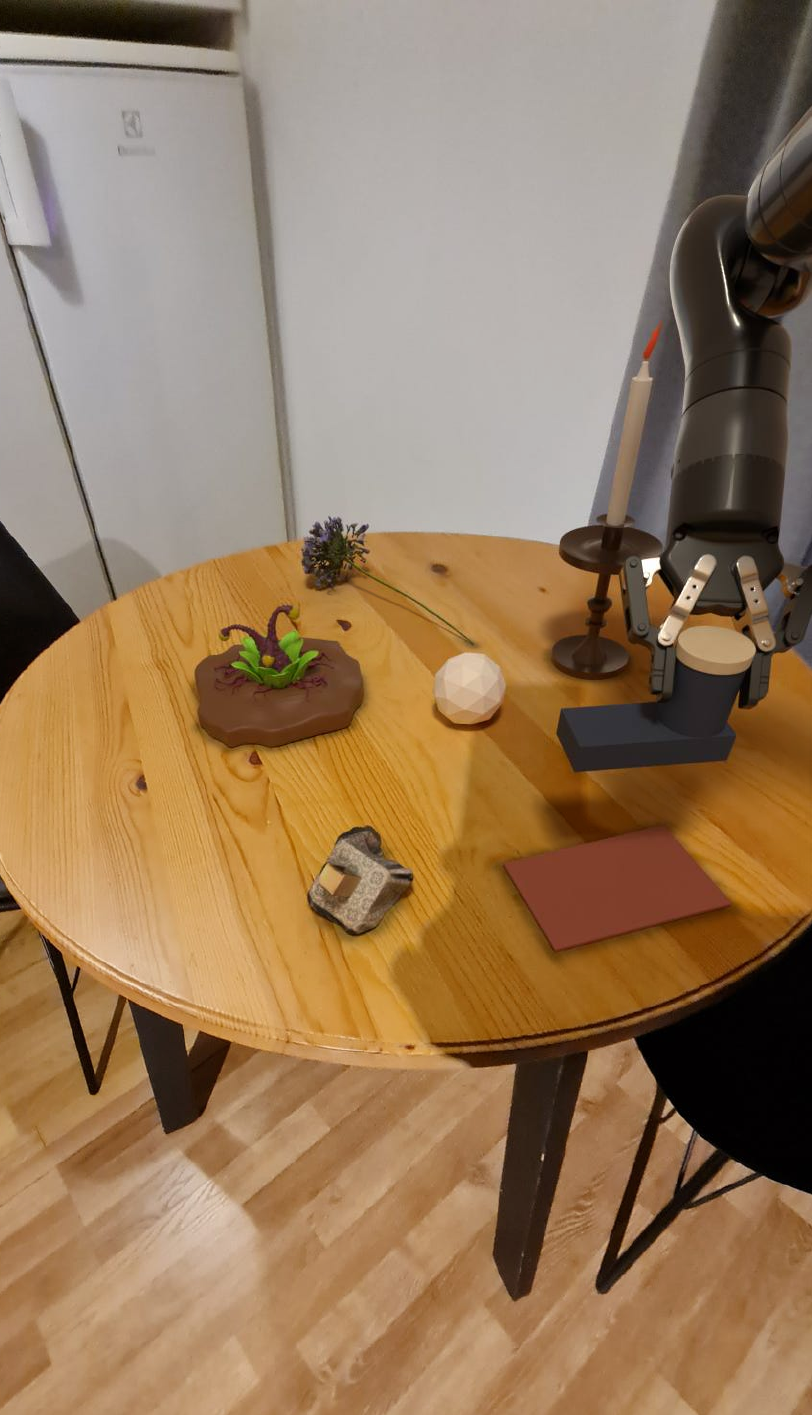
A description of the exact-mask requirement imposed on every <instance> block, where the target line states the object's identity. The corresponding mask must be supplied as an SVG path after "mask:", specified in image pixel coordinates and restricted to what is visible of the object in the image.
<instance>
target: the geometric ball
mask: <svg viewBox="0 0 812 1415" xmlns="http://www.w3.org/2000/svg"><path fill="white" fill-rule="evenodd" d="M506 689H507V685H506V681H505V678H504V675H503V672H502V670H501V667H500V665H498V664H497V663H496V662H495V661H493V660H492V659H491V658H490V657H488V656H487V655H486V654H484V653H476V652H466V651H465V652H463V653H460V654H458V655H455V656H452V657H450V658H447V660H446V661H445V663H444V664H443V665H442V666H441V667H440V668H439V669H438V670H437V672H436V673H435V674H434V679H433V688H432V694H433V697H434V701H435V703H436V706H437V709H438V711H439V712H440V713H441V714H442V715H443V716H444V717H446V718H447V719H448V720H450V721H451V722H452V723H453V724H459V725H461V724H462V725H474V724H475V725H476V724H479V723H482V722H484V721H489V720H491V718H492V717H493V716H494V714H495V713H496V712H497V710H498V709H500V707H501V706H502V704H503V703H504V698H505V693H506Z"/></svg>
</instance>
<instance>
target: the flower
mask: <svg viewBox="0 0 812 1415" xmlns="http://www.w3.org/2000/svg"><path fill="white" fill-rule="evenodd" d="M327 516H328V520H327V519H325V520H324V521H323V525H324V528H323V527H322V525H321V523H320V522H319V521H316V522H315V523H314V524H312V525H311V526H312V528H310V529H309V530H308V533H309V535H311V536H308V535H307V536H303V543H304V546H301V547H300V550H301V554H302V558H301V559H300V561H301V566H302V567H303V568H302V570H303V572H304V575H311V576H313V575H314V577H315V578H317V579H316V581H315V582H314V583H313V584H314V586H318V587H319V588H320V589H321V588H322V583H323V582H324V581H325V582H326V587H330V586H331V587H333V588H334V589H335V588H336V586H334V584H333V582H335V580H337V581H338V582H341V579H342V577H341V573H342V569H343V570H345V569H347V568H348V569H347V570H346V576H345V577H344V581H346V582H348V581H349V579H350V576H349V571H351V570H353V568H354V569H356V570H358V571H360V572H361V573H363V574H364V575H365V576H367V577H369V578H371V579H372V580H374V581H376V582H378V583H379V584H382V585H383V586H386V587H387V588H388V589H391V590H392V591H395V592H396V593H399V594H401V595H402V596H404V597H406V598H408V599H409V600H411V601H412V602H414V603H415V604H417V605H419V606H421V607H422V609H424V610H426V611H427V612H429V613H430V614H431V615H433V616H435V617H436V618H438V619H439V620H440V621H442V622H443V623H444V624H446V625H447V626H449V627H450V628H451V629H452V630H454V631H455V632H457V633H458V634H459V635H460V636H462V637H463V638H464V639H465V640H467V641H468V642H469V643H470V644H472V645H473V646H474V645H475V643H474V642H473V641H472V640H471V639H470V638H468V637H467V636H466V635H465V634H463V633H462V632H461V631H460V630H458V629H457V628H456V627H455V626H454V625H452V624H451V623H450V622H448V621H447V620H445V619H444V618H443V617H442V616H440V615H438V613H436V612H434V611H433V610H432V609H430V608H428V606H426V605H424V603H421V602H419V601H417V599H415V598H413V597H411V596H409V595H408V594H407V593H404V592H403V591H402V590H400V589H397V588H395V587H394V586H392V585H390V584H389V583H386V582H385V581H383V580H381V579H379V578H377V577H374V576H373V574H370V573H368V572H367V571H365V570H364V569H362V568H361V567H360V566H358V565H356V564H355V561H354V560H355V559H356V557H357V556H358V557H360V558H361V559H359V561H360V562H362V564H366V562H367V559H366V557H364V556H363V554H366V555H369V554H370V553H371V550H370V549H367V548H364V547H365V544H364V543H368V540H365V537H366V535H367V534H366V532H367V530H368V529H369V528H370V525H369V523H366V524H362V525H361V526H360V527H359V529H358V530H356V527H357V526H358V525H359V524H358V523H357V522H355V523H351V524H350V525H348V524H346V525H345V527H346V530H347V531H346V535H345V537H344V535H343V532H345V530H344V524H343V523H342V522H343V520H342V518H341V517H340V516H337V517H335V516H334V517H331V516H330V515H327ZM351 529H352V532H351ZM350 532H351V533H352V536H351V538H352V539H349V536H348V535H349V534H350ZM354 536H356V538H354ZM359 536H361V537H360V538H359ZM358 544H359V545H361V546H362V547H361V546H359V545H358ZM356 555H357V556H356ZM344 562H345V564H344ZM327 563H328V564H327ZM326 564H327V565H326Z"/></svg>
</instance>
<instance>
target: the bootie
mask: <svg viewBox="0 0 812 1415" xmlns="http://www.w3.org/2000/svg"><path fill="white" fill-rule="evenodd" d="M674 648H676V663H675V673H674V684H673V694H672V698H671V700H670V701H668V702H667V703H656V701H645V702H643V701H642V702H633V703H632V702H631V703H617V704H603V705H590V706H576V707H563V708H562V707H561V708H560V712H559V717H558V722H557V727H556V732H555V734H556V736H557V738H558V741H559V743H560V745H561V747H562V750H563V752H564V753H565V756H566V758H567V760H568V762H569V764H570V766H571V768H572V771H573V773H583V772H597V771H609V770H623V769H624V770H625V769H636V768H650V767H665V766H675V765H689V764H690V765H691V764H702V763H715V762H727V761H728V759H729V756H730V753H731V751H732V749H733V746H734V744H735V741H736V739H737V737H738V736H737V735H738V734H737V733H736V732H735V730H734V729H733V728H732V726H731V725H730V724H729V723H728V721H729V719H730V716H731V713H732V710H733V707H734V705H735V702H736V699H737V698H738V696H739V690H740V687H741V684H742V682H743V679H744V677H745V674H746V671H747V669H748V668H749V667H750V665H751V663H752V660H753V658H754V655H755V652H756V648H755V645H754V643H753V642H752V641H751V640H750V639H749V638H747V637H746V636H744V635H743V634H741V633H739V632H737V631H736V630H735V629H731V628H728V627H727V628H726V627H724V626H723V627H722V626H717V625H695V626H692V627H689V628H685V629H684V630H682V631H681V632H679V634H678V635H677V638H676V643H675V646H674Z"/></svg>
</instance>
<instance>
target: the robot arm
mask: <svg viewBox="0 0 812 1415" xmlns="http://www.w3.org/2000/svg"><path fill="white" fill-rule="evenodd" d="M669 290H670V297H671V298H670V299H671V303H672V304H671V306H672V309H673V314H674V318H675V322H676V326H677V330H678V336H679V339H680V347H681V354H682V358H683V362H684V371H685V372H684V375H685V377H684V385H683V386H684V388H683V389H684V390H683V399H682V409H681V420H680V424H679V431H678V435H677V438H676V442H675V448H674V454H673V463H672V466H671V468H670V480H671V484H670V494H669V505H668V506H669V507H668V518H667V526H666V536H665V545H664V547H663V551H662V554H661V556H660V557H657V558H651V559H644V560H641V559H640V558H639V557H637V556H630V557H629V558H627V560H626V561H625V563H624V565H623V567H622V569H621V571H620V573H619V575H618V581H619V589H620V595H621V602H622V603H621V604H622V612H623V618H624V626H625V633H626V640H627V641H628V643H629V644H632V645H639V646H641V647H644V648H646V649H647V650H648V651H649V653H650V662H649V670H648V671H649V673H648V683H647V690H648V692H649V695H651V696H653V695H655V702H656V703H667V702H668V701H670V700H671V698H672V694H673V684H674V673H675V663H676V648H675V647H674V643H675V641H676V640H677V638H678V636H679V635H680V633H681V632H680V631H681V630H682V629H683V626H684V624H685V622H686V620H687V619H688V617H689V616H702V615H707V614H713V615H716V616H719V617H724V618H725V617H727V618H731V622H732V624H733V627H734V631H736V632H739V633H741V634H743V635H744V636H746V637H747V638H749V639H750V640H751V641H752V642H753V643H754V645H755V648H756V652H755V655H754V658H753V660H752V663H751V665H750V667H749V668H748V669H747V671H746V674H745V677H744V679H743V682H742V684H741V687H740V690H739V692H738V699H737V700H738V701H737V702H738V703H737V707H738V709H739V710H751V709H754V708H755V707H757V706H758V704H759V702H760V701H762V700H764V699H766V697H767V695H768V693H769V689H770V677H771V667H772V666H771V665H772V658H773V655H775V654H785V653H787V652H788V651H790V650H791V649H792V648H793V647H795V646H797V645H799V644H800V643H802V642H803V641H804V639H805V635H806V633H807V629H808V627H809V624H810V620H811V618H812V563H811V564H810V565H809V566H804V565H799V564H795V563H791V562H787V561H785V558H784V555H783V553H782V551H781V549H780V546H779V545H780V544H779V540H780V532H781V524H782V512H783V501H784V490H785V480H786V471H787V470H786V469H787V459H788V458H787V457H788V447H789V446H788V445H789V425H788V404H789V392H790V381H791V368H792V357H793V343H792V338H791V335H790V334H789V331H788V330H787V328H786V327H784V326H783V325H782V324H781V323H780V322H778V321H776V320H774V319H773V318H778V317H781V316H784V315H788V314H790V313H792V312H794V311H796V310H797V309H798V308H800V307H801V306H802V305H803V304H804V303H805V302H806V301H807V300H808V299H809V298H810V297H811V294H812V105H811V106H810V108H808V110H807V111H806V112H805V113H804V115H802V117H801V118H800V119H799V120H798V121H797V123H796V124H795V126H794V127H793V128H792V129H791V130H790V131H789V132H788V134H787V135H786V136H785V137H784V139H783V140H782V141H781V142H780V144H779V145H778V146H777V147H776V149H775V150H774V151H773V153H772V154H771V155H770V156H769V157H768V158H767V160H766V161H765V163H764V164H763V166H761V168H760V170H759V171H758V173H757V174H756V177H755V178H754V180H753V182H752V184H751V186H750V189H749V191H748V194H747V195H739V194H738V195H737V194H720V195H716V196H713V197H710V198H708V199H706V200H705V201H703V202H702V203H700V204H699V205H698V206H697V207H696V208H695V209H694V210H693V211H692V212H691V213H690V214H689V216H688V217H687V219H686V220H685V221H684V223H683V225H682V227H681V228H680V230H679V232H678V234H677V237H676V239H675V243H674V246H673V248H672V253H671V258H670V267H669ZM655 575H658V577H659V578H660V579H661V581H662V582H663V584H664V585H665V587H666V588H667V590H668V591H669V593H670V594H671V596H672V598H673V600H672V602H671V605H670V606H669V608H668V610H667V611H666V614H665V616H664V617H663V619H662V621H661V624H660V626H659V627H658V626H656V625H653V624H651V620H650V612H649V604H648V597H647V590H648V589H649V588H650V586H651V585H652V584H653V581H654V576H655ZM775 580H778V581H779V582H780V583H781V594H782V596H784V597H785V598H787V599H786V601H785V606H784V608H783V611H782V614H781V617H780V620H779V623H778V626H777V629H776V632H774V631H773V628H772V625H771V622H770V609H769V606H768V603H767V602H768V601H767V600H766V599H767V598H766V597H765V594H764V592H765V591H766V590H767V589H768V587H769V586H770V585H771V584H772V583H773V582H774V581H775Z"/></svg>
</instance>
